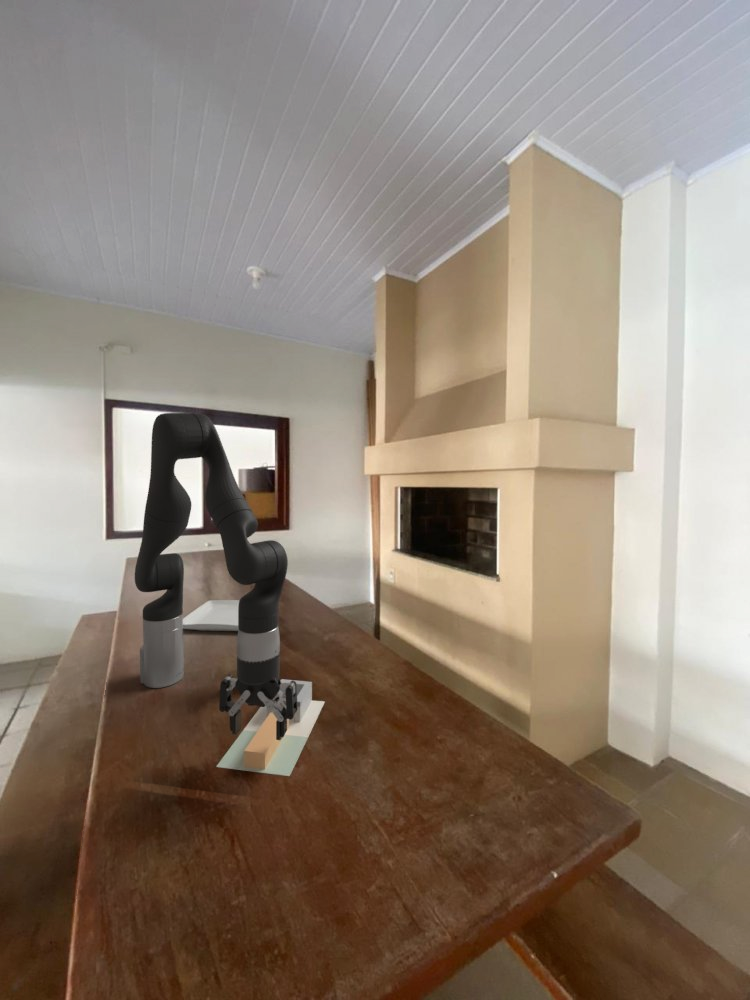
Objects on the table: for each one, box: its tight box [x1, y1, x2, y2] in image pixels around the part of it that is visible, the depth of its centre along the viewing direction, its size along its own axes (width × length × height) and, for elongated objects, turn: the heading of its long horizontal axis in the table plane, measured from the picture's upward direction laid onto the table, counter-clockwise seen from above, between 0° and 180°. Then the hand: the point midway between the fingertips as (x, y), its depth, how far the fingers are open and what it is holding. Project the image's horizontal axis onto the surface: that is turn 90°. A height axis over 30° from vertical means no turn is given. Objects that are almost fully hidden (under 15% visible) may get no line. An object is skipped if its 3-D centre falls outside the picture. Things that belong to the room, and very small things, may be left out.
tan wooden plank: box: [244, 712, 289, 769], centre depth 77 cm, size 4×12×3 cm, turn 172°
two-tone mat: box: [215, 678, 326, 777], centre depth 82 cm, size 14×23×6 cm, turn 172°
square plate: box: [183, 599, 240, 632], centre depth 147 cm, size 27×27×4 cm
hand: (258, 734), depth 73 cm, fingers open, 8 cm apart
